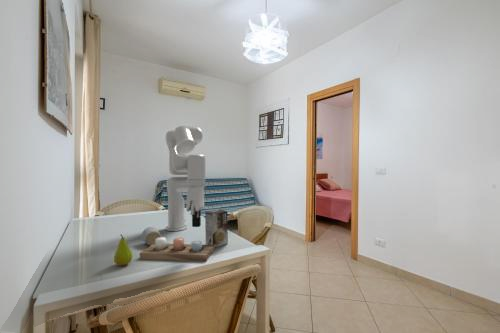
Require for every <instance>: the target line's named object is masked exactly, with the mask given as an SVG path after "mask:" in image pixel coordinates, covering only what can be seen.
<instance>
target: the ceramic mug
mask: <svg viewBox="0 0 500 333" xmlns="http://www.w3.org/2000/svg"><path fill="white" fill-rule="evenodd" d="M160 237H163V236H162V235H161V233H160V231H159V230H157V228H156V227H153V226H149V227H146V228H144V230H143V231H142V232H141V239H142V241H143V242H144V243H145V244H146V245H148V246H149V247H150V246H151V245H153V244H154V243H155V239H156V238H160Z"/></svg>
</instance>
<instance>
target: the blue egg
mask: <svg viewBox="0 0 500 333" xmlns="http://www.w3.org/2000/svg"><path fill="white" fill-rule="evenodd" d="M190 244H191V251H192V252H201V251H202V245H203V241H201V240H193V241H192V242H191V243H190Z"/></svg>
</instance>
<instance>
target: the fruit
mask: <svg viewBox="0 0 500 333" xmlns="http://www.w3.org/2000/svg"><path fill="white" fill-rule="evenodd" d="M120 236H121V238H120V240H119V242H118V246H117V250H116V251H115V253H114V256H113V262H114V263H115V264H116V265H117V266H120V267H121V266H122V267H123V266H127V265H128V264H130V263H131V261H132V259H133V251H131V249H130V247H129V245H128V243H127V241H126V239H125V238H124V236H123V235H122V233H121V234H120Z"/></svg>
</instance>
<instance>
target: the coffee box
mask: <svg viewBox="0 0 500 333" xmlns="http://www.w3.org/2000/svg"><path fill="white" fill-rule="evenodd" d="M204 213H205V215H204V218H205V223H204V224H205V231H204V232H205V245H214V249H215V248H218V247H222V246H225V245H227V244H228V243H229V239H228V238H229V235H228V233H229V232H228V223H229V222H228V210H224V209H213V210H209V211H205V212H204Z"/></svg>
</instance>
